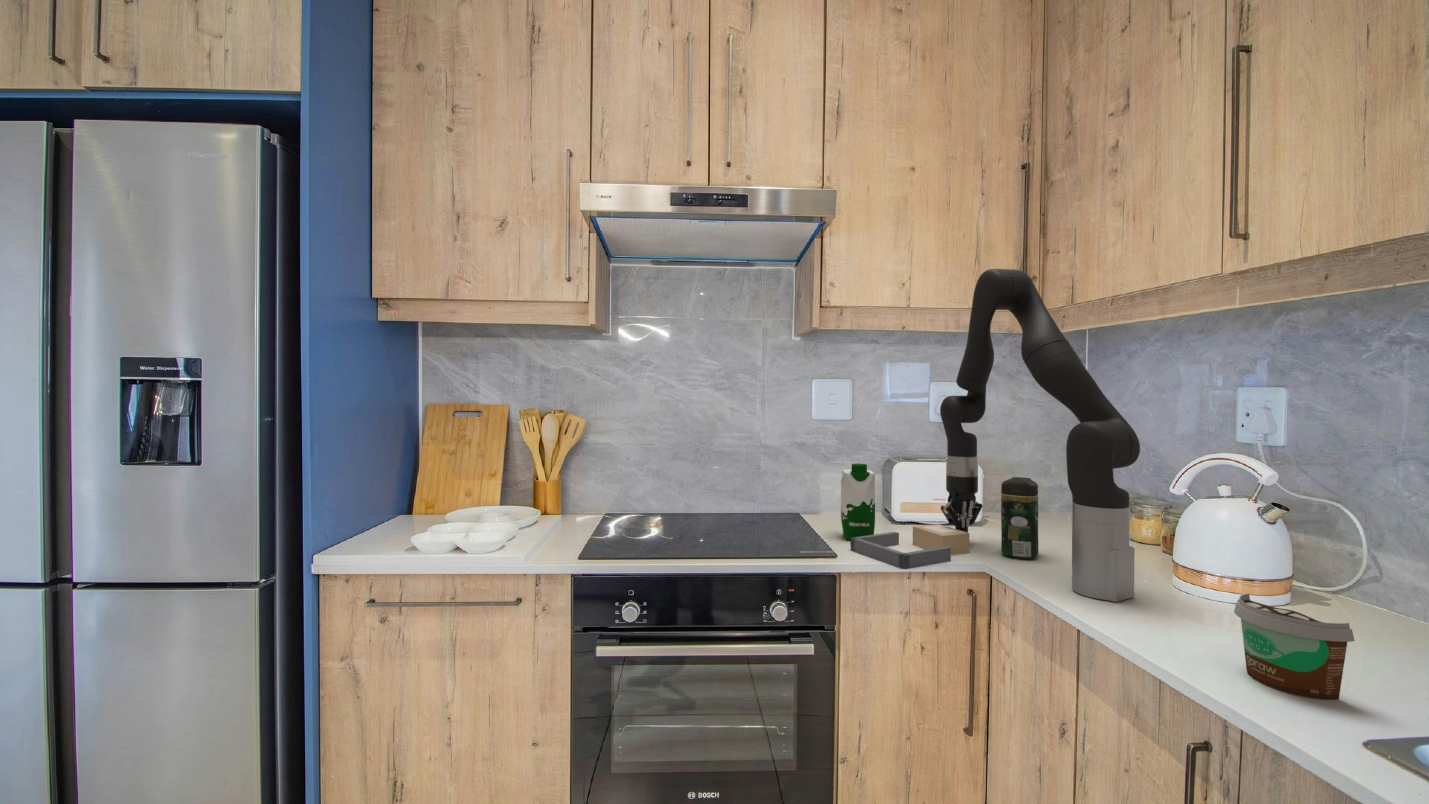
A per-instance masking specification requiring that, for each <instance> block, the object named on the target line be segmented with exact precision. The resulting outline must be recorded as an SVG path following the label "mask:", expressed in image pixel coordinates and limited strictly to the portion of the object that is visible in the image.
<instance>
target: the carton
mask: <svg viewBox="0 0 1429 804" xmlns="http://www.w3.org/2000/svg"><path fill="white" fill-rule="evenodd" d="M912 545H913V546H915V547H918V548H921V549H922V550H926V549H932V548H938V547H944V546H947V547H950V548H951V556H952V555H953V556H954V555H959V554H969V553H970V533H969V532H968V533H967V532H964V531H960V530H957V529H956V528H954V527H950V526H946V525H943V524H939V523H935V524H922V525H913V526H912Z"/></svg>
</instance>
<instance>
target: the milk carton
mask: <svg viewBox="0 0 1429 804" xmlns="http://www.w3.org/2000/svg"><path fill="white" fill-rule="evenodd" d="M840 479H841V480H840V484H841V485H840V518H841V519H840V520H841V521H840V522H841V527H842V534H843V537H844V538H845V541H847V542H848V541H850V542H851V538H853V537H860V536H867V535H875V527H876V526H875V525H876V475H875V472H874V471H873V470H870V469H868V464H866V463H852V464H851V469H842V470H841V478H840Z"/></svg>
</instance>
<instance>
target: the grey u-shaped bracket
mask: <svg viewBox="0 0 1429 804" xmlns="http://www.w3.org/2000/svg"><path fill="white" fill-rule="evenodd" d="M898 545H900V533H899V532H897V531H891V532H883V533H876V534H875V533H874V535H867V536H860V537H853V538H851V541H850V551H853V552H855V553H859V554H861V555H863V556H867V557H870V558H872V559H874V560H877V561H880V562H883V563H886V564H890V565H892V566H895V567H898V568H899V569H903V570H905V569H911V568H917V567H922V566H928V565H934V564H935V565H936V564H940V563H944V562H950V561H952V555H951V548H950V547H947V546H944V547H938V548H932V549H921V550H915V551H910V552H909V551H908V552H903V551H899V550H896V549H893V548H889V547H891V546H898Z"/></svg>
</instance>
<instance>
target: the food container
mask: <svg viewBox="0 0 1429 804" xmlns="http://www.w3.org/2000/svg"><path fill="white" fill-rule="evenodd" d="M1250 598H1251V597H1250V593H1243V594H1241V595H1240V596H1239V599H1237V601H1236V603H1235V608H1234V610H1233V612H1234V614H1235V615H1236V616H1237V617H1238V618H1240V624H1241V633H1242V641H1243V650H1244V658H1245V667H1246V669H1245V670H1246V673H1247V675H1248V676H1249V677H1250V678H1251V679H1253V680H1254V681H1256V682H1257V683H1260V684H1262V685H1264V686H1266V687H1269V688H1271V689H1274V690H1277V691H1280V692H1282V693H1286V694H1290V695H1293V696H1299V697H1301V698H1308V699H1314V700H1315V699H1316V700H1323V701H1324V700H1325V701H1329V700H1330V701H1335V700H1340V694H1341V687H1342V680H1343V673H1344V667H1345V660H1346V653H1347V648H1348V647H1347V646H1348V643H1349V642H1355V637H1354V632H1353V628H1350V627H1351V626H1350V622H1343V623H1340V622H1339V623H1338V622H1336V623H1335V622H1333V623H1332V622H1324V621H1320V620H1317V619H1315V618H1313V617H1310V616H1307V615H1305V614H1304V613H1301V612H1299V611H1295V610H1291V609H1288V608H1281V607H1275V606H1270V605H1266V604H1263V603H1260V602H1257V601H1254V600H1251V599H1250Z"/></svg>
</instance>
